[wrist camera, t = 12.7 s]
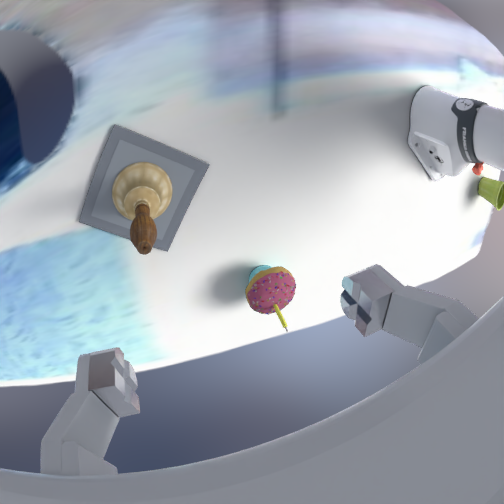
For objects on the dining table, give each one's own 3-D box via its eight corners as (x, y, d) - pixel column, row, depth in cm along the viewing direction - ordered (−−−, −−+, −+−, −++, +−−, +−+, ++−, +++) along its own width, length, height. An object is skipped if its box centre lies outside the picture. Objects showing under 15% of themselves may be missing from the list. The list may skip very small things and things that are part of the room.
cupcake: (277, 294, 53) (307, 337, 44) (234, 297, 50) (258, 345, 40) (288, 254, 50) (324, 294, 40) (242, 254, 46) (271, 299, 37)
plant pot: (472, 192, 64) (494, 204, 57) (482, 166, 61) (504, 176, 54) (479, 203, 68) (499, 214, 61) (489, 179, 65) (509, 189, 58)
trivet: (208, 163, 37) (209, 164, 37) (167, 249, 41) (167, 252, 41) (115, 124, 30) (114, 124, 30) (79, 220, 34) (78, 222, 34)
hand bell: (160, 151, 33) (168, 183, 21) (181, 206, 38) (203, 267, 25) (102, 177, 32) (75, 226, 19) (127, 230, 37) (122, 302, 24)
